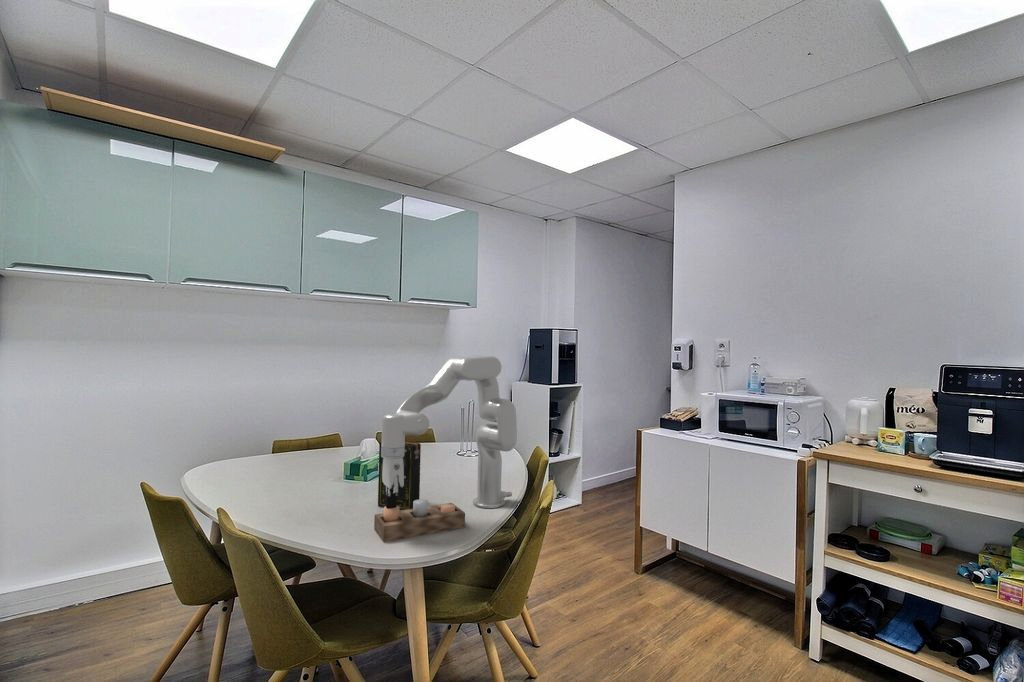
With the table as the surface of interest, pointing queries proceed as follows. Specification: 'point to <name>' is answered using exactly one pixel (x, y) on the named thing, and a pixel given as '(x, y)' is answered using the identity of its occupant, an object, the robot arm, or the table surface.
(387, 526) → the wooden candle holder
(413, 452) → the voltmeter
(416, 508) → the button middle
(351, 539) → the table surface
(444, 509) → the button
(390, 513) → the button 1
